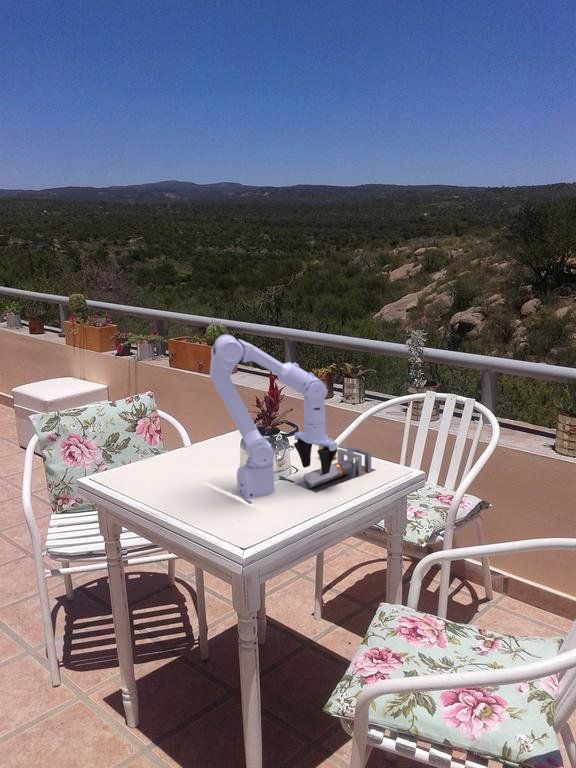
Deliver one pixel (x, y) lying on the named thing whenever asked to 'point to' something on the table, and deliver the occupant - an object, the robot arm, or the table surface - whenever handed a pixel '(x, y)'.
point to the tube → (335, 472)
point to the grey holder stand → (356, 472)
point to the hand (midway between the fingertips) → (316, 469)
